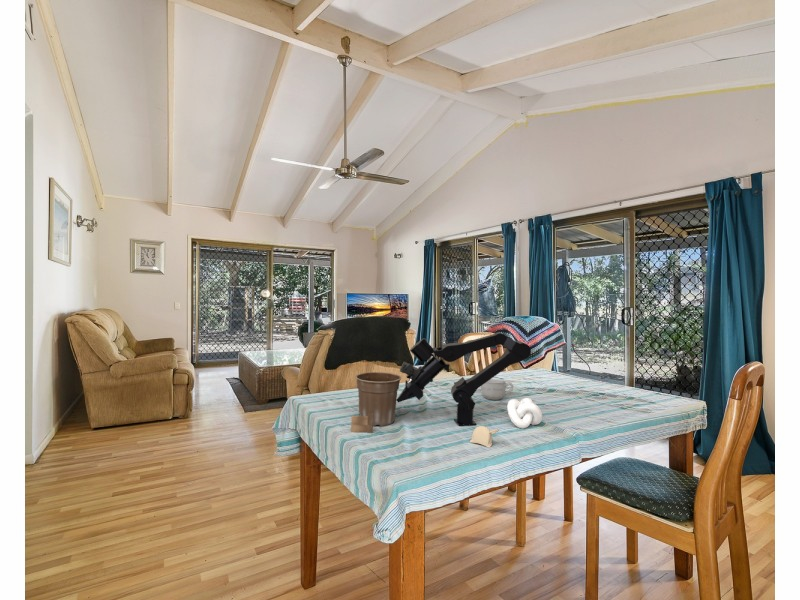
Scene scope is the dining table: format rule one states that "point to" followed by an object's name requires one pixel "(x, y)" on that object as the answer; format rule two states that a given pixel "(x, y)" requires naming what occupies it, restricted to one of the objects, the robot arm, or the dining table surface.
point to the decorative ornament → (483, 436)
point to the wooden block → (362, 423)
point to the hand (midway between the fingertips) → (397, 401)
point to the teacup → (495, 389)
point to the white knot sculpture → (524, 412)
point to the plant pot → (378, 396)
